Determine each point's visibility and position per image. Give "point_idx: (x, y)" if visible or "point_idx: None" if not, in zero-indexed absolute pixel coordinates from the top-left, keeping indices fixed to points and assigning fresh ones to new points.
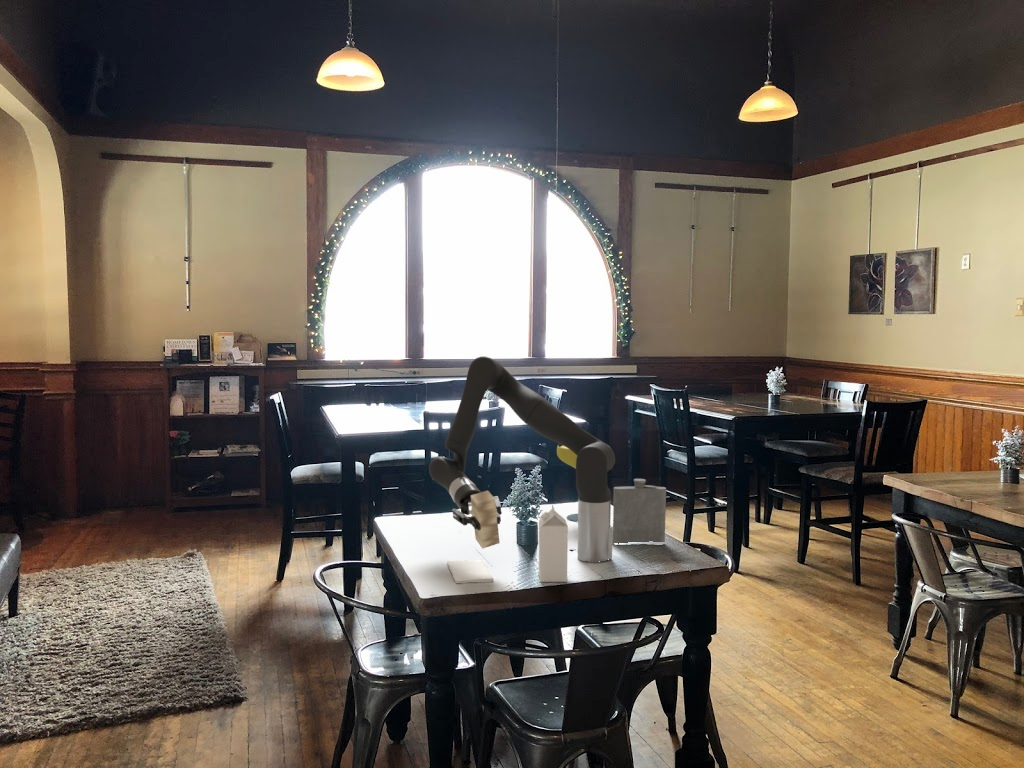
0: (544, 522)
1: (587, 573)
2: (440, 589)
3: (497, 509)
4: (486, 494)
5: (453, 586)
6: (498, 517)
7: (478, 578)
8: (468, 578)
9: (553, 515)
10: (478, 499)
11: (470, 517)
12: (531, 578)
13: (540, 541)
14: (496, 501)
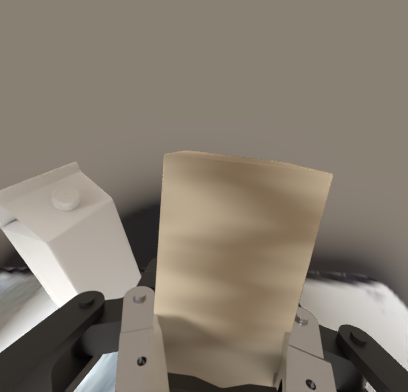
0: (96, 195)
1: (36, 309)
2: (366, 322)
3: (111, 304)
4: (204, 155)
5: None
6: None
7: None
8: None
9: (78, 174)
10: (269, 161)
11: (306, 312)
12: None
13: (120, 233)
14: (11, 372)
